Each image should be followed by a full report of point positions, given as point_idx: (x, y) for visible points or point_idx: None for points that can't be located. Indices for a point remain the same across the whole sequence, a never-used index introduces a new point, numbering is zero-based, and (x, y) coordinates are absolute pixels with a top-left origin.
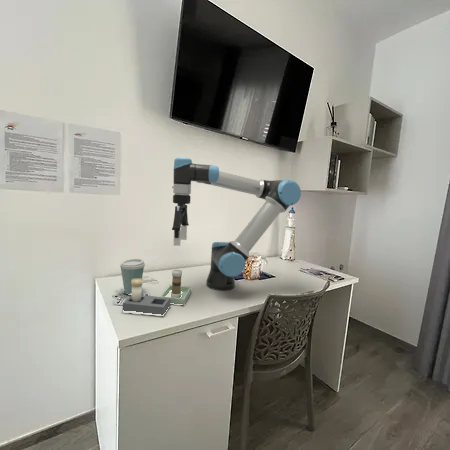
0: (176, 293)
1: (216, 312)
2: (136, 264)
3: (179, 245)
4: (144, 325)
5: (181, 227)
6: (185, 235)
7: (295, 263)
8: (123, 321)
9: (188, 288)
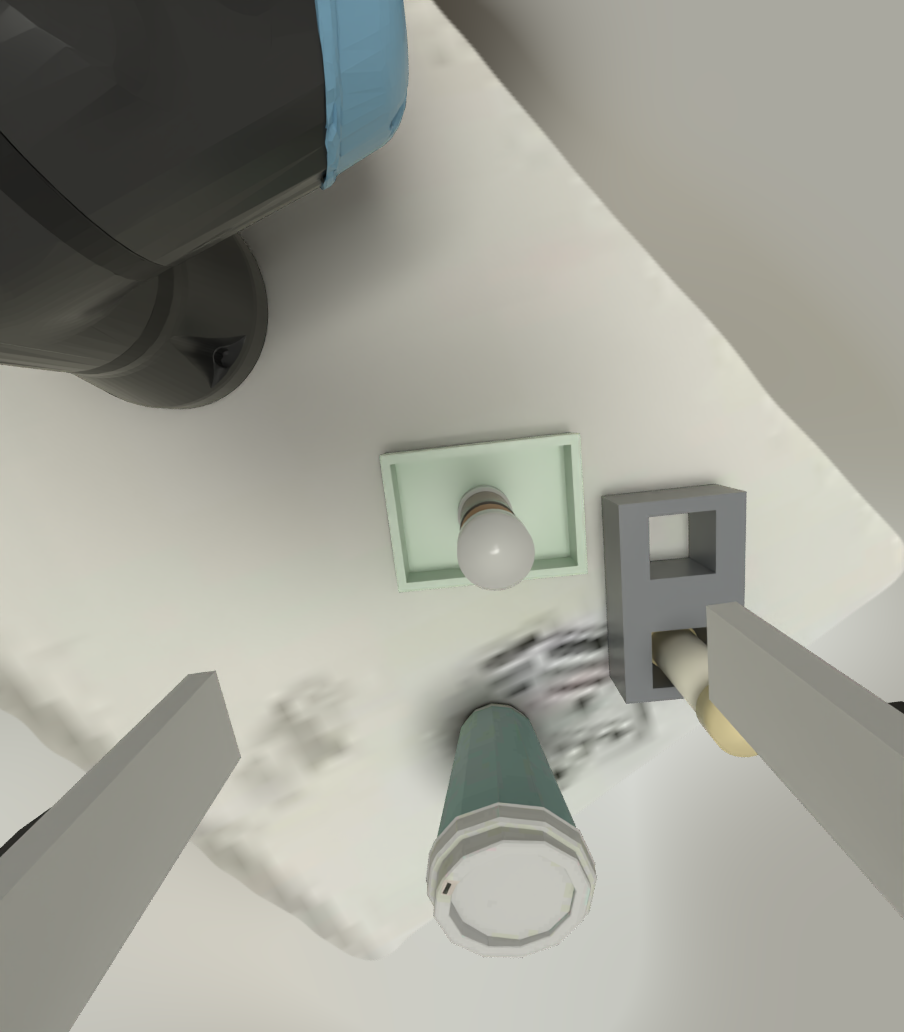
0: (509, 506)
1: (594, 228)
2: (562, 856)
3: (738, 610)
4: (804, 528)
5: (64, 1016)
6: (173, 736)
7: None
8: (786, 624)
9: (392, 470)
